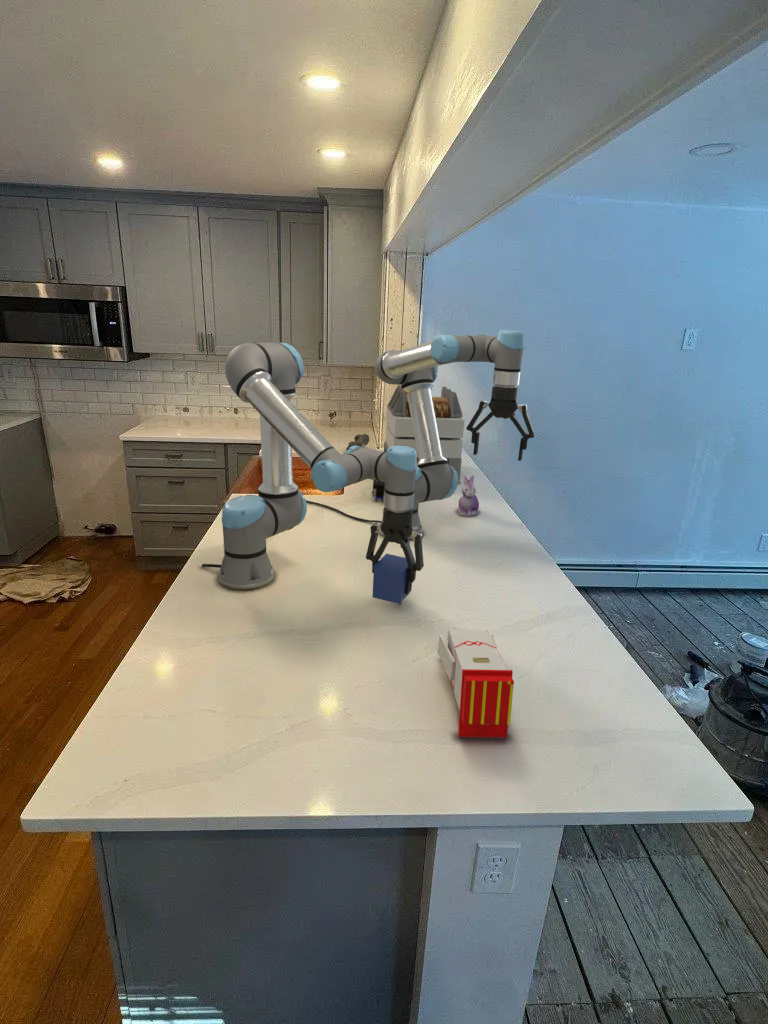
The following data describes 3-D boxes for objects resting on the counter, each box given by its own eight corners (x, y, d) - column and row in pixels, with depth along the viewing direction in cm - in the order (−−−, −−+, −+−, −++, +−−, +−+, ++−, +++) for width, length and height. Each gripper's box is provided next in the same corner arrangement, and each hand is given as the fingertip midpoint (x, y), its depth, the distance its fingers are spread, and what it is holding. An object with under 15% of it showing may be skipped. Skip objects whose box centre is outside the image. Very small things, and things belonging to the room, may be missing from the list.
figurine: (465, 518, 217) (469, 480, 212) (450, 509, 226) (454, 473, 221) (485, 515, 222) (489, 478, 217) (470, 507, 230) (473, 471, 225)
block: (400, 604, 146) (403, 572, 143) (372, 597, 149) (374, 565, 146) (411, 590, 154) (414, 559, 151) (384, 583, 157) (386, 553, 153)
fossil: (345, 440, 316) (366, 424, 311) (356, 453, 319) (377, 438, 314) (339, 453, 297) (361, 437, 292) (350, 467, 300) (373, 452, 295)
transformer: (382, 463, 289) (386, 382, 275) (445, 464, 293) (451, 384, 279) (390, 482, 257) (394, 392, 243) (460, 483, 261) (468, 394, 247)
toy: (488, 613, 130) (523, 677, 101) (484, 667, 133) (517, 744, 104) (435, 612, 130) (455, 676, 101) (432, 666, 133) (451, 743, 103)
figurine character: (387, 506, 231) (387, 491, 244) (388, 489, 228) (388, 474, 241) (371, 505, 231) (371, 490, 244) (372, 488, 227) (372, 474, 241)
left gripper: (442, 510, 143) (434, 590, 151) (366, 496, 150) (362, 574, 158) (433, 520, 136) (425, 603, 144) (354, 505, 143) (351, 585, 151)
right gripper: (550, 388, 164) (540, 459, 172) (466, 381, 173) (460, 449, 180) (547, 391, 158) (537, 465, 165) (460, 383, 166) (454, 454, 173)
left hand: (392, 588), depth 151 cm, fingers closed on block, 8 cm apart
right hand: (497, 456), depth 172 cm, fingers open, 13 cm apart
